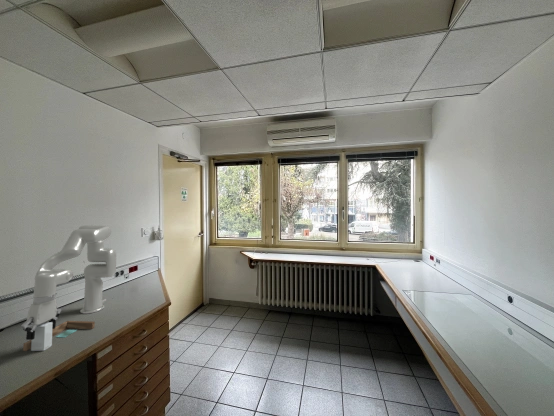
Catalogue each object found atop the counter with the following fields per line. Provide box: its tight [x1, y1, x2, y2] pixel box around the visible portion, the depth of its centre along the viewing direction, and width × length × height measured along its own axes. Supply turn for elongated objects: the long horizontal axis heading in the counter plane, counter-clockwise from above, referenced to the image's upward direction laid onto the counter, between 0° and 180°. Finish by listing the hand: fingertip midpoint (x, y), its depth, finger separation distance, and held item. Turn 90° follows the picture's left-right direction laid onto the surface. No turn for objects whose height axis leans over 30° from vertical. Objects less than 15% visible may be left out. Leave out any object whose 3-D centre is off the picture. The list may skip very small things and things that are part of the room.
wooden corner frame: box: [22, 320, 96, 352], centre depth 114 cm, size 22×16×4 cm
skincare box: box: [30, 321, 53, 352], centre depth 105 cm, size 6×4×12 cm
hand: (41, 333), depth 105 cm, fingers open, 9 cm apart
